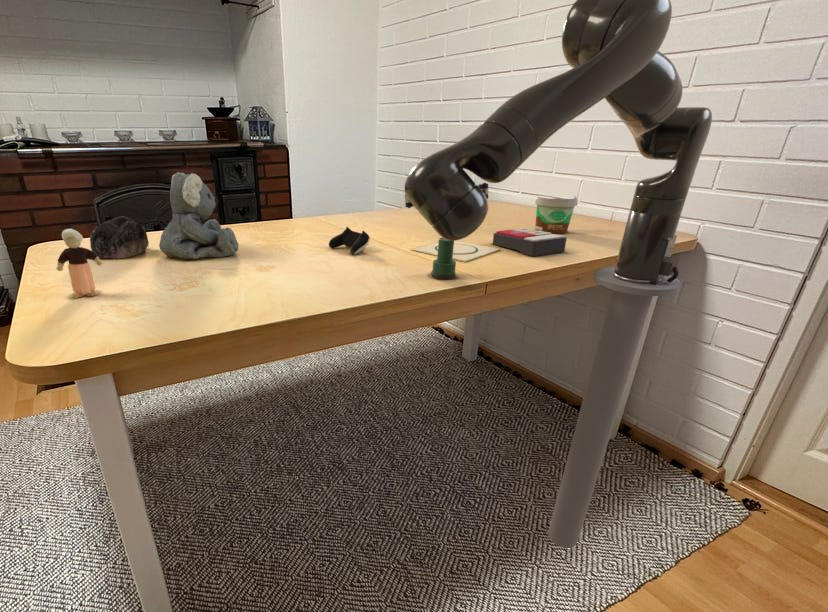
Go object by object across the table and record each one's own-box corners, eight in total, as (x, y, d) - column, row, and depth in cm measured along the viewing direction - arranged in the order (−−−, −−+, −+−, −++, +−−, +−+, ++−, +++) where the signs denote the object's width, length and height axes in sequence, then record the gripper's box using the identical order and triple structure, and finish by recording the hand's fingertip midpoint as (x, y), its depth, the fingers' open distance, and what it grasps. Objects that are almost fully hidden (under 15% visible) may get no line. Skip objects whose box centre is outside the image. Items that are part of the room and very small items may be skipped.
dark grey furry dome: (88, 254, 121) (75, 216, 116) (141, 242, 128) (131, 205, 123) (101, 269, 113) (87, 229, 107) (157, 256, 119) (146, 217, 114)
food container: (539, 235, 136) (545, 199, 131) (530, 231, 142) (536, 196, 137) (579, 234, 137) (587, 199, 132) (569, 230, 142) (576, 196, 138)
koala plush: (242, 256, 117) (233, 172, 108) (168, 266, 109) (151, 176, 100) (223, 242, 130) (213, 166, 121) (155, 250, 122) (139, 170, 113)
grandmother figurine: (67, 301, 88) (47, 233, 82) (64, 295, 91) (44, 229, 85) (111, 293, 92) (94, 227, 86) (107, 288, 95) (91, 224, 89)
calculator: (524, 226, 130) (568, 234, 117) (522, 242, 131) (565, 251, 119) (493, 230, 125) (535, 238, 113) (491, 246, 127) (532, 256, 115)
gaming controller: (361, 262, 119) (376, 240, 120) (352, 251, 116) (367, 229, 116) (335, 254, 126) (349, 233, 127) (325, 243, 123) (340, 222, 124)
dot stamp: (460, 276, 101) (464, 238, 98) (446, 281, 98) (449, 243, 94) (440, 271, 105) (443, 235, 101) (426, 276, 101) (428, 239, 98)
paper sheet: (499, 250, 121) (499, 248, 121) (465, 261, 111) (465, 260, 111) (448, 240, 131) (448, 238, 131) (412, 250, 121) (412, 248, 121)
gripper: (401, 225, 75) (408, 219, 90) (494, 216, 72) (485, 212, 87) (398, 175, 73) (406, 178, 87) (493, 164, 70) (485, 169, 85)
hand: (445, 195), depth 87 cm, fingers open, 8 cm apart
